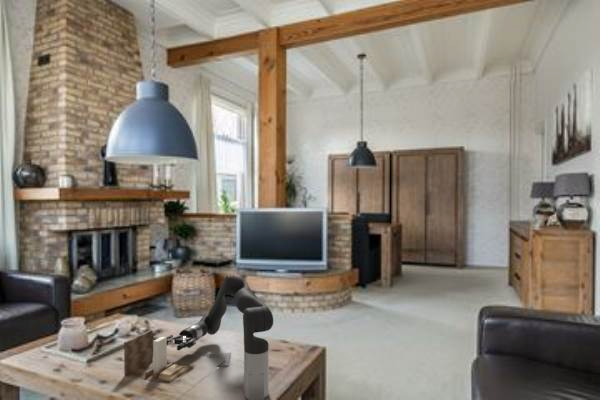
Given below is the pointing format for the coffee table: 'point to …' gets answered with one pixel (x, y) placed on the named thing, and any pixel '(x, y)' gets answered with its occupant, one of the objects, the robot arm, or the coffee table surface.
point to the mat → (219, 356)
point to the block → (159, 354)
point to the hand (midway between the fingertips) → (169, 347)
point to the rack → (148, 361)
